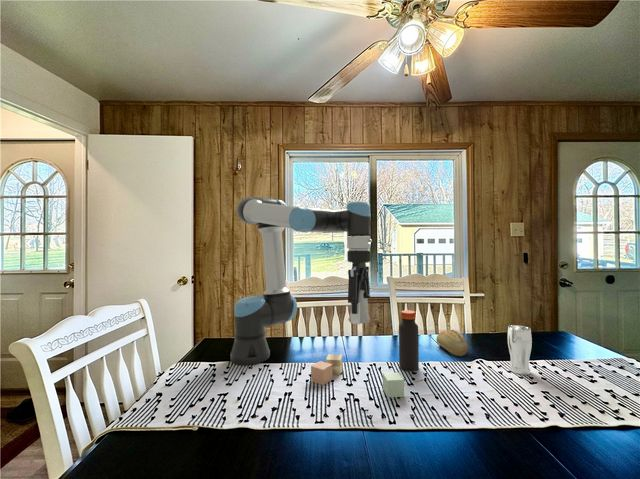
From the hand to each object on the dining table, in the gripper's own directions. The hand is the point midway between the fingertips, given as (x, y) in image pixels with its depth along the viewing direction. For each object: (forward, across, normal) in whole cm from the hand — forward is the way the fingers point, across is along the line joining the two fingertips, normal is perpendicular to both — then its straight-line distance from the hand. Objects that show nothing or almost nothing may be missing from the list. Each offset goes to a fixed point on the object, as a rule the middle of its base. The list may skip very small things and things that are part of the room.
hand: (359, 320), depth 97 cm
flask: (0, 0, 0) cm, 0 cm away
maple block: (+20, +4, +11) cm, 23 cm away
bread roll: (+20, +42, -25) cm, 53 cm away
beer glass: (+20, +31, -47) cm, 60 cm away
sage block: (+20, -2, -11) cm, 23 cm away
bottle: (+20, +18, -12) cm, 30 cm away
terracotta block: (+20, -4, +12) cm, 24 cm away
